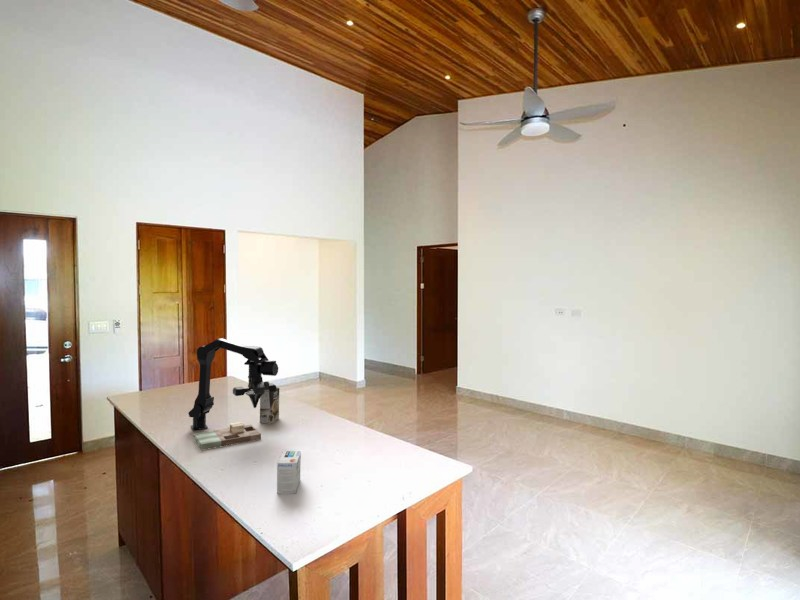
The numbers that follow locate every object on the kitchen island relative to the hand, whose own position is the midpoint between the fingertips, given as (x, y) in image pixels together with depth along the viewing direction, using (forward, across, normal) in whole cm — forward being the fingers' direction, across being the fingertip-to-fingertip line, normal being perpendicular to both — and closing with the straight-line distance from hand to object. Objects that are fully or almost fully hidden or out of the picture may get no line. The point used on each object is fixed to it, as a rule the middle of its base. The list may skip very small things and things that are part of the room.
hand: (254, 407), depth 208 cm
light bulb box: (+12, -6, -60) cm, 61 cm away
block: (+10, -8, 0) cm, 12 cm away
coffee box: (+12, +12, +14) cm, 22 cm away
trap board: (+12, -12, -2) cm, 17 cm away
